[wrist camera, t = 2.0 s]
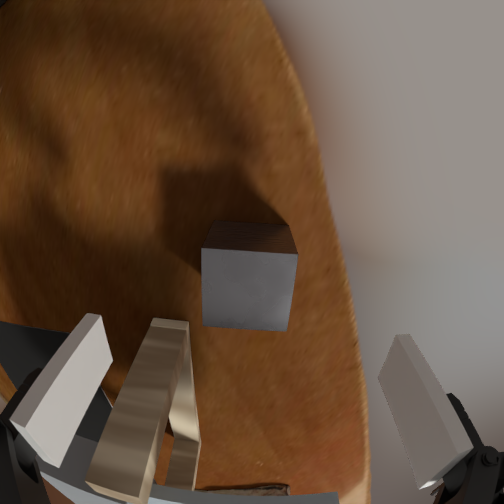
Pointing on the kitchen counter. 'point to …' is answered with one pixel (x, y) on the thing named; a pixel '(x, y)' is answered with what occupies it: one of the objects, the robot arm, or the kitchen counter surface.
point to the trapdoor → (161, 497)
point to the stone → (255, 491)
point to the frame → (151, 419)
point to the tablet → (38, 355)
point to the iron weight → (248, 275)
